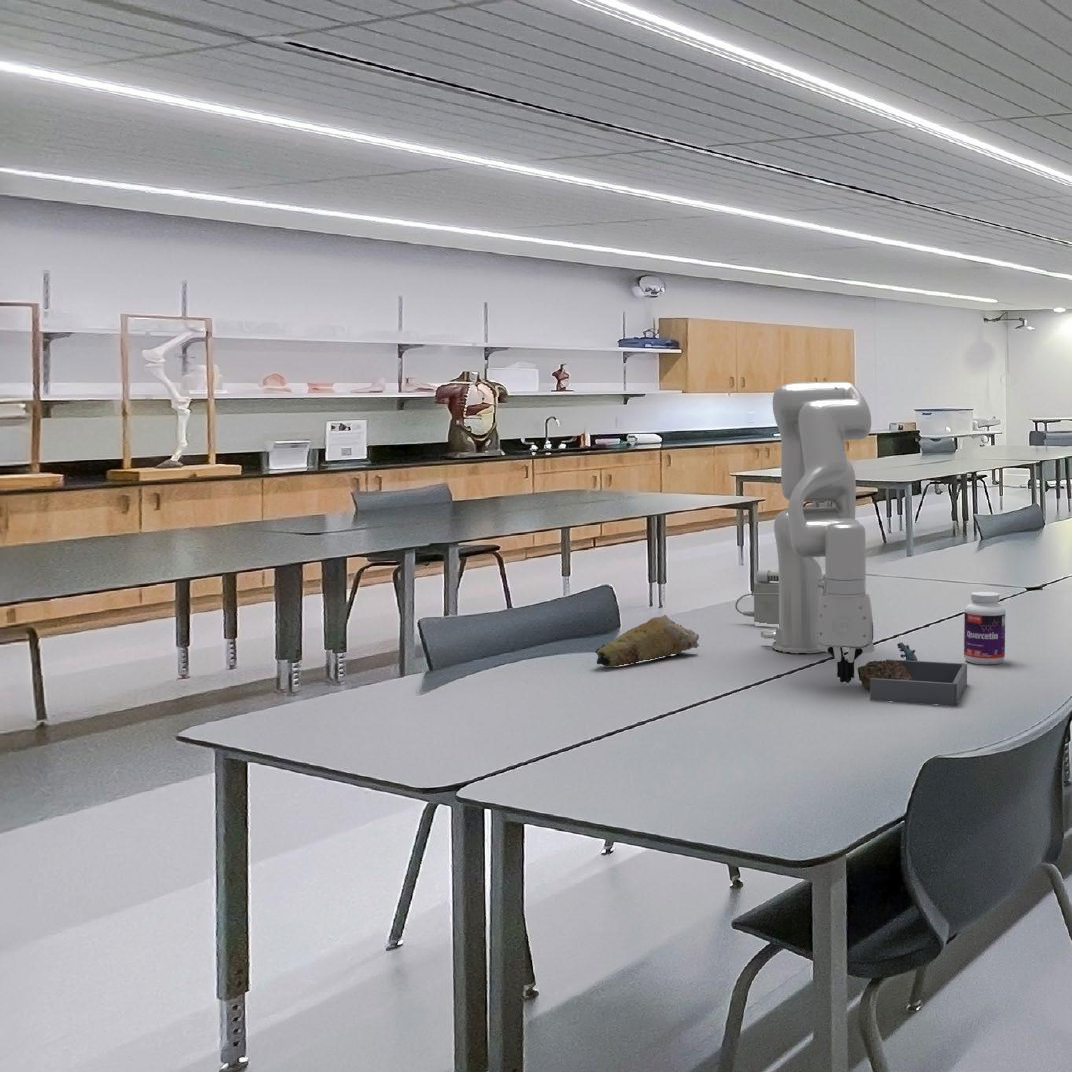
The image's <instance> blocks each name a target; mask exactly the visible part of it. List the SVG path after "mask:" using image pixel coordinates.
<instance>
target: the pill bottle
mask: <svg viewBox="0 0 1072 1072" xmlns="http://www.w3.org/2000/svg"><path fill="white" fill-rule="evenodd" d="M970 595H971V596H970V599H971V603H968V604H967V605H966V606H965V607H964V617H963V618H964V622H963V623H964V625H963V627H964V628H963V631H964V633H963V636H964V637H963V658H964V659H965V661H967V662H969V663H970V664H975V665H986V666H987V665H988V666H989V665H991V666H992V665H998V664H1001V663H1002V662H1004V661H1005V655H1006V609H1005V607H1004V605H1002V604H1001V603H999V601H1000V593H998V592H993V591H975V592H974V591H973V592H971V593H970Z"/></svg>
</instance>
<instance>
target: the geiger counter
mask: <svg viewBox="0 0 1072 1072" xmlns="http://www.w3.org/2000/svg"><path fill="white" fill-rule="evenodd" d="M824 578H825V574H823V573H822V580H824ZM756 580H757V581H756V582H754V583H753V593H751V592H750V593H746V594H743V595H742V596H739V598H738V599H737V600H736V602H735V607H734V608H735V610H736V611H737V612H738V613H739V614H742V615H743V616H744V617H745V616H746V617H751V618H752V617H753V623H754V622H759V623H767V624H779V571H771V570H768V569H767V570H766V569H759V570H757V573H756ZM823 593H825V592H824V588H823ZM748 596H753V610H754V611H749V610H748V611H743V612H742V610H740V609H739V608H738V604H739V602H740V601H741V600H742V599H743V598H745V597H748Z"/></svg>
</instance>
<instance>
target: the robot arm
mask: <svg viewBox="0 0 1072 1072" xmlns="http://www.w3.org/2000/svg"><path fill="white" fill-rule="evenodd" d="M772 412H773V416H774V420H775V423H776V426H777V428H778V429H777V430H778V432H779V435H780V436H779V437H780V441H781V445H780V447H781V448H780V449H781V451H780V452H781V453H780V455H781V456H780V457H781V458H780V460H781V462H780V464H781V465H780V466H781V467H780V468H781V471H780V473H781V474H780V475H781V476H780V477H781V478H780V482H781V483H780V485H781V491H782V495H783V497H784V498H785V500H788V501H789V502H788V504H787V505H788V506H787V508H786V509H784V510H781V511H780V512H779V513H778V514H777V515H776V516H775V518H774V521H773V522H774V523H773V531H774V538H775V544H776V551H777V559H778V561H777V563H778V564H777V565H778V572H779V581H778V583H779V628H774V629H770V628H761V629H760V638H763V639H767V640H768V639H773V641H774V642H772V644H771V645H772V649H773V648H774V649H775V650H774V649H773V650H774V651H776V650H780V651H784V652H783V653H786V652H790V653H789V654H799V653H807V654H818V653H819V654H820V653H824V652H827V653H828V654H830V655H831V657H832V658H834V660H835V662H836V677H837V678H839V682H840V684H841V683H846V684H850V682H851V681H852V679H854V678H855V661H856V660H857V658H859V657H860V656H862V655H865V654H871V653H873V652H874V651H875V646H874V642H873V641H874V621H873V610H872V604H871V597H870V594H869V593H866V592H867V591H866V588H867V587H866V584H867V583H866V563H867V562H866V557H867V555H866V554H867V553H866V528H865V526H863V524H861V523H860V522H859V521H858V520H857V519H856V497H857V496H856V495H857V493H856V491H857V484H856V483H857V481H856V473H855V469H854V467H853V465H852V463H851V462H850V461H849V460H848V459H847V453H846V446H845V441H848V440H849V441H850V440H851V441H852V440H853V441H854V440H864V439H866V438H867V437H868V436H869V434H870V433H871V428H872V415H871V411H870V408H869V405H868V403H867V401H866V399H865V397H864V396H863V394H862V393H861V391H860V390H859V389H858V387H857V386H856V385H855V384H853V383H852V382H849V381H810V382H809V381H808V382H807V381H804V382H803V381H802V382H792V383H791V382H790V383H786V384H782V385H780V386H779V387H777V388H776V389H775V391H774V392H773V396H772ZM813 502H814V503H815V502H817V503H818V502H830V503H832V506H822V507H821V506H820V507H818V506H817V507H815V506H812V507H811V506H808V507H807V506H806V507H804V503H813ZM822 557H823V558H824V562H825V563H824V565H825V566H824V567H825V569H824V571H825V578H824V580H822V574H823V570H822V568H821V565H820V564H819V563H818V561H817V560H816V559H815V558H822ZM823 588H824V592H825V593H823ZM844 648H847V649H848V652H847V658H846V657H845V655H844ZM780 651H779V652H780Z"/></svg>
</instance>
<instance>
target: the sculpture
mask: <svg viewBox="0 0 1072 1072" xmlns="http://www.w3.org/2000/svg"><path fill="white" fill-rule="evenodd" d="M897 649H898V650H899V651H900V652H903V654H902V653H901V654H900V658H901V659H904V658H905V660H910V661H919V660H918V658H917V656H916V654H915V653H916V650H915V649H911V648H910V646H909V645H908V644H904V643H903V642H898V643H897Z"/></svg>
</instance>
